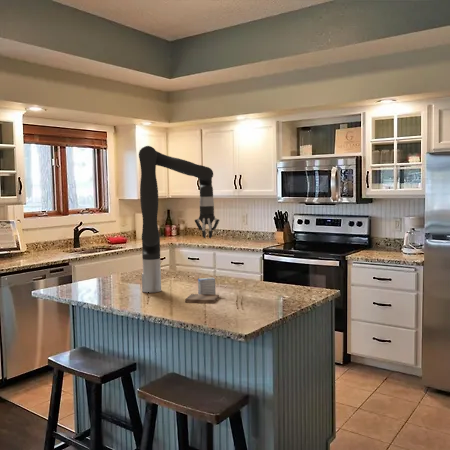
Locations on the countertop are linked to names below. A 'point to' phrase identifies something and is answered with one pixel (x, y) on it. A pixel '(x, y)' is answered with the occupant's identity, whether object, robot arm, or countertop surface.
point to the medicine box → (206, 286)
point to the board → (202, 298)
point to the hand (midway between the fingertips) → (207, 237)
